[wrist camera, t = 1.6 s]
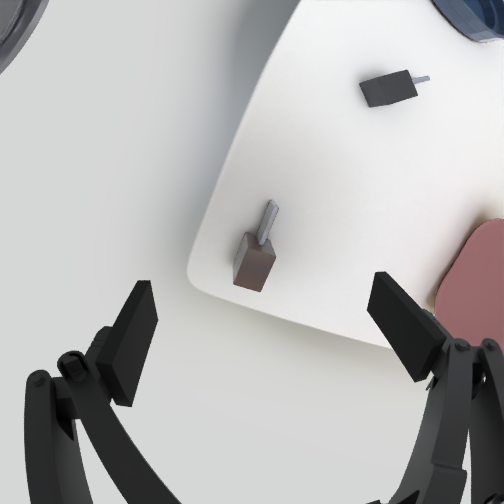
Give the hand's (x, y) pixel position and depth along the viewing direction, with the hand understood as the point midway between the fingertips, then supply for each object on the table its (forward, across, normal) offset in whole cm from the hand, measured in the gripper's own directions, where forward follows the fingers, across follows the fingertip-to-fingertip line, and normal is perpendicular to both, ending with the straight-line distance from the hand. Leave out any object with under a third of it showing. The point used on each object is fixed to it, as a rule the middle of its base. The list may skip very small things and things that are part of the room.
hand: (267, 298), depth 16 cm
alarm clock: (+14, +34, -7) cm, 37 cm away
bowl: (+14, +30, +36) cm, 49 cm away
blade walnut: (+14, +1, -1) cm, 14 cm away
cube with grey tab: (+14, +15, +16) cm, 26 cm away
